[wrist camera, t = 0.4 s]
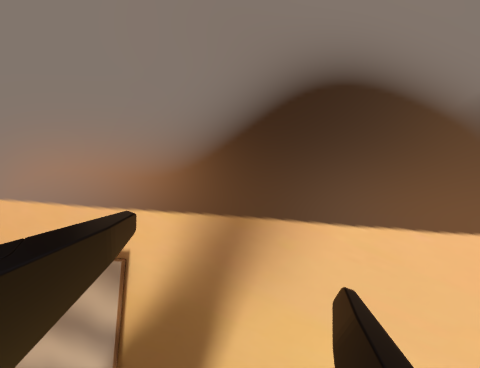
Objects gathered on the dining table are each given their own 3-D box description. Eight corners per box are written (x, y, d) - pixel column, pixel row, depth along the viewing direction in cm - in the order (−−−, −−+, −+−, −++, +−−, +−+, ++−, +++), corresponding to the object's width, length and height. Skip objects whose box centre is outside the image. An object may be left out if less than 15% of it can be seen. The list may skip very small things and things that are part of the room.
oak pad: (114, 396, 23) (109, 403, 22) (19, 388, 23) (11, 395, 22) (125, 259, 23) (121, 261, 23) (32, 252, 23) (24, 255, 23)
